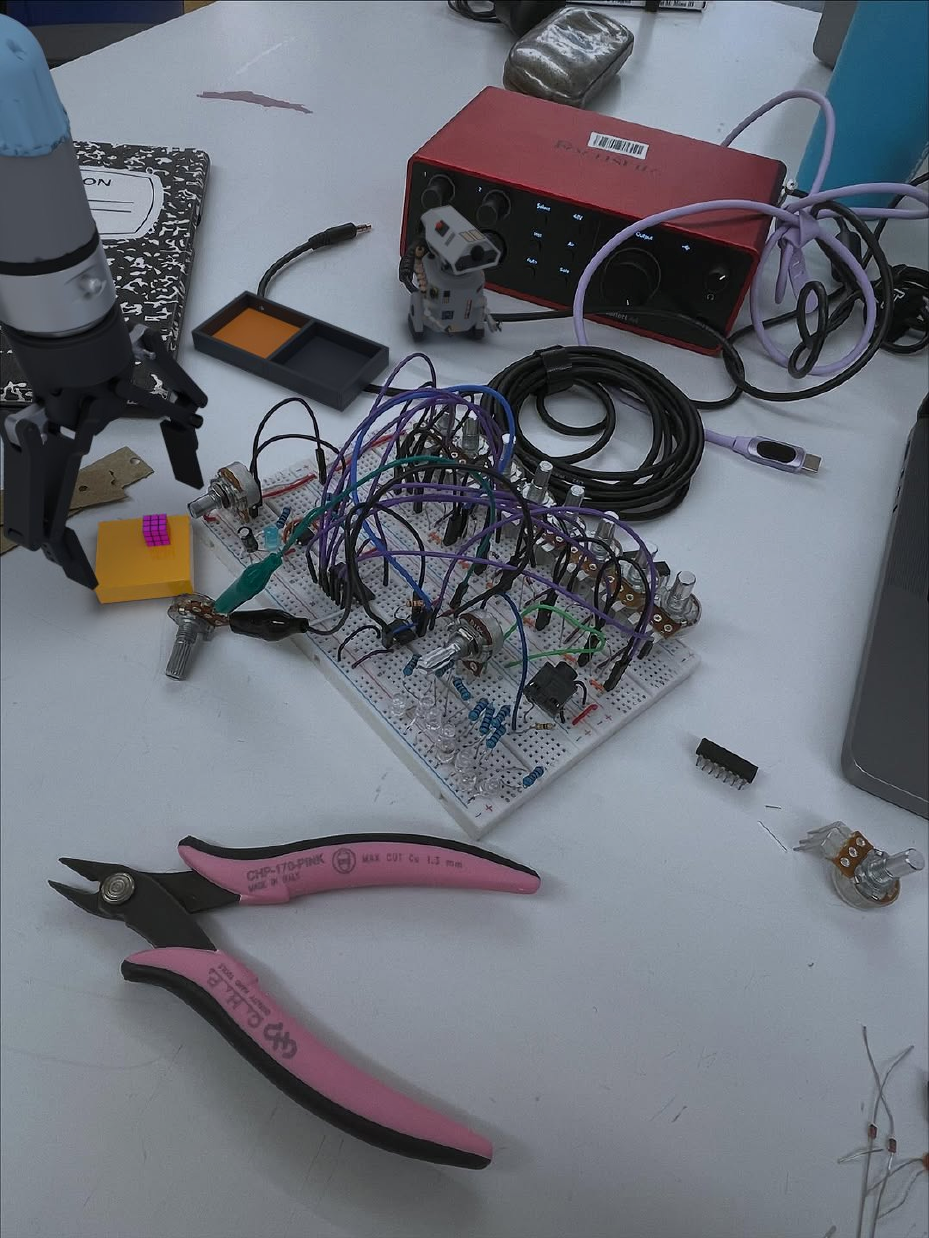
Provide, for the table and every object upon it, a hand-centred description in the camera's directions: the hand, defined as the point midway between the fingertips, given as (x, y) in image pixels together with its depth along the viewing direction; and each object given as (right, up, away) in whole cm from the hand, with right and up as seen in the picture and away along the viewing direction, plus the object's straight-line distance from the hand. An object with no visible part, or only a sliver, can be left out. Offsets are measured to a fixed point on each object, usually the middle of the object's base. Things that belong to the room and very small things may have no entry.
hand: (139, 529), depth 69 cm
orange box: (-1, -3, +4) cm, 5 cm away
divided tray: (+8, +23, +24) cm, 35 cm away
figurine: (+27, +27, +29) cm, 48 cm away
